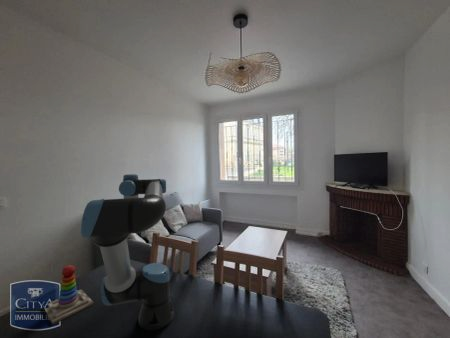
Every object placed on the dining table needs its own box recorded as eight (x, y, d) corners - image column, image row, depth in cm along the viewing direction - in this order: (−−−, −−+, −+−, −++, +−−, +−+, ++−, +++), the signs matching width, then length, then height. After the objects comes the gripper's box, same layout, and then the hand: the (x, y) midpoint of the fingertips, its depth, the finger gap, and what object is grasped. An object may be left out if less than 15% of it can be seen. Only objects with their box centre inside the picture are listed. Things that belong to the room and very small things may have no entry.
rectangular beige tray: (93, 304, 102) (93, 299, 102) (52, 324, 90) (52, 319, 90) (81, 291, 112) (81, 287, 112) (42, 308, 99) (42, 303, 99)
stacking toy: (67, 310, 96) (66, 271, 95) (53, 308, 98) (52, 269, 97) (82, 299, 104) (81, 263, 103) (69, 297, 106) (68, 261, 105)
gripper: (147, 198, 126) (148, 232, 127) (103, 205, 106) (104, 245, 107) (155, 199, 122) (155, 235, 123) (110, 207, 102) (111, 249, 103)
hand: (131, 240), depth 115 cm, fingers open, 13 cm apart
